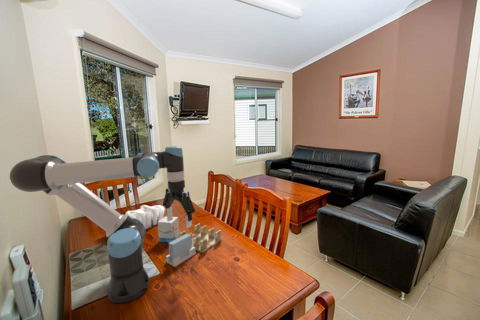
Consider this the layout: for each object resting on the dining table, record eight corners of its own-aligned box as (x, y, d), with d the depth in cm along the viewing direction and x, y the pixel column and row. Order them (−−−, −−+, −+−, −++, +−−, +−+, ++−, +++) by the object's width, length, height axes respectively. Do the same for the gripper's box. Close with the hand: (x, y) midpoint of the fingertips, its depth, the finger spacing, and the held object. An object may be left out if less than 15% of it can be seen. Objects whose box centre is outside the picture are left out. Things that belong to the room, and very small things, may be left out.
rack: (202, 253, 115) (201, 242, 114) (179, 243, 124) (179, 233, 124) (221, 240, 127) (221, 230, 126) (199, 232, 136) (199, 223, 136)
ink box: (172, 243, 125) (171, 222, 124) (158, 241, 127) (157, 221, 125) (179, 235, 134) (178, 216, 132) (166, 234, 135) (165, 215, 134)
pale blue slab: (174, 262, 106) (172, 244, 104) (169, 260, 107) (168, 243, 106) (191, 252, 114) (190, 235, 113) (187, 250, 116) (186, 233, 115)
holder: (174, 267, 104) (174, 260, 103) (165, 262, 108) (165, 256, 107) (196, 253, 114) (195, 247, 114) (187, 249, 118) (187, 243, 118)
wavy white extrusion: (117, 240, 130) (115, 223, 128) (106, 232, 140) (104, 215, 139) (171, 220, 156) (170, 205, 154) (158, 214, 167) (157, 200, 165)
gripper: (201, 181, 101) (203, 226, 104) (166, 175, 115) (169, 215, 119) (188, 185, 95) (191, 233, 98) (152, 178, 109) (156, 220, 113)
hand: (179, 223), depth 108 cm, fingers open, 13 cm apart
